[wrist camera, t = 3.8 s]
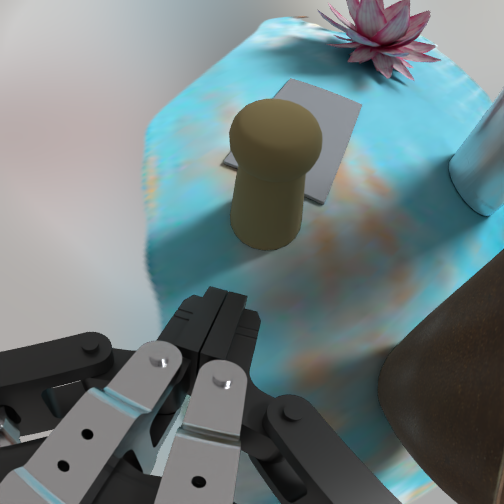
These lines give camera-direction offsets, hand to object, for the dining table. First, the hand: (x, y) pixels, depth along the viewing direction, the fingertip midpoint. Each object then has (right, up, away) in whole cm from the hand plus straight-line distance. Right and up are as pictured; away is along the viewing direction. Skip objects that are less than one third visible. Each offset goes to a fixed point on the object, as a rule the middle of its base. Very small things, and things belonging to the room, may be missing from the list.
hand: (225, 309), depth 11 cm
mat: (+7, +16, +16) cm, 24 cm away
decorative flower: (+22, +36, +25) cm, 49 cm away
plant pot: (+15, -9, +7) cm, 18 cm away
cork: (+2, +5, +12) cm, 14 cm away
